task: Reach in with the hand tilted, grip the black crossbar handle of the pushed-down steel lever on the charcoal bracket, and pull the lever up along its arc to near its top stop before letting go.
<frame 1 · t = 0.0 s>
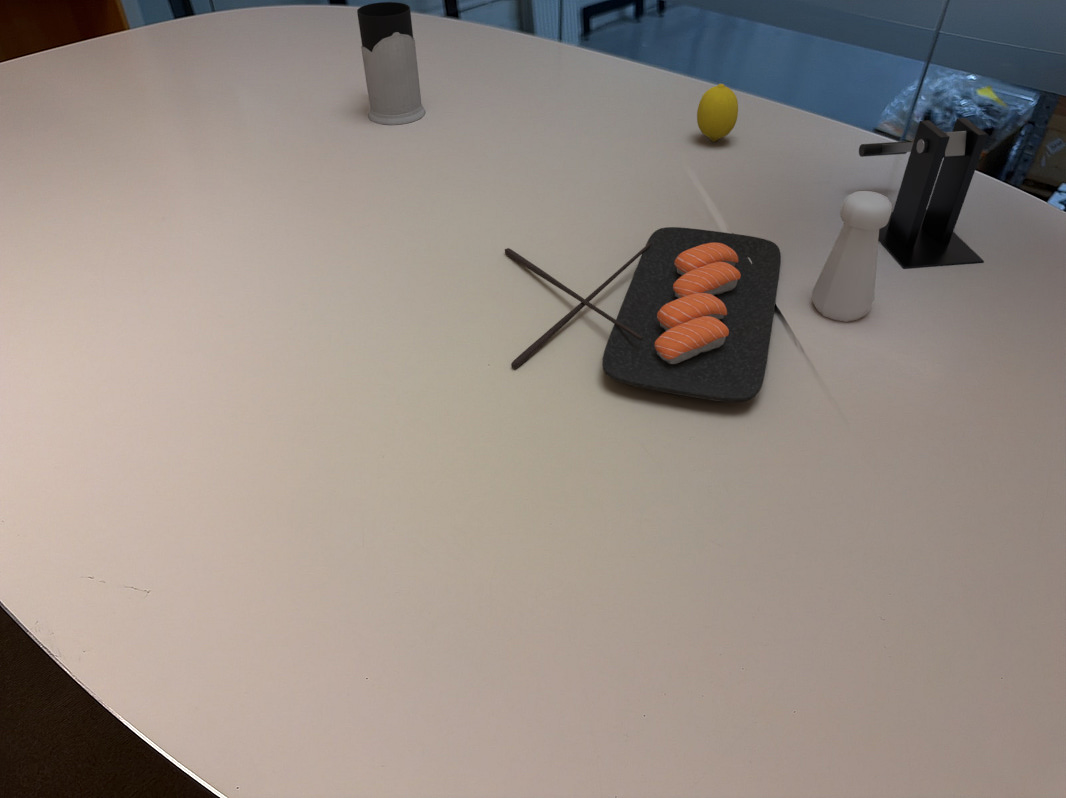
salt shaker: (836, 317, 82), on the table
sushi plate: (621, 306, 84), on the table
bracket: (914, 246, 92), on the table
lemon: (713, 142, 115), on the table
glass holder: (390, 109, 127), on the table
lever: (915, 146, 90), point 9 cm above the table, hinge at -25.0°
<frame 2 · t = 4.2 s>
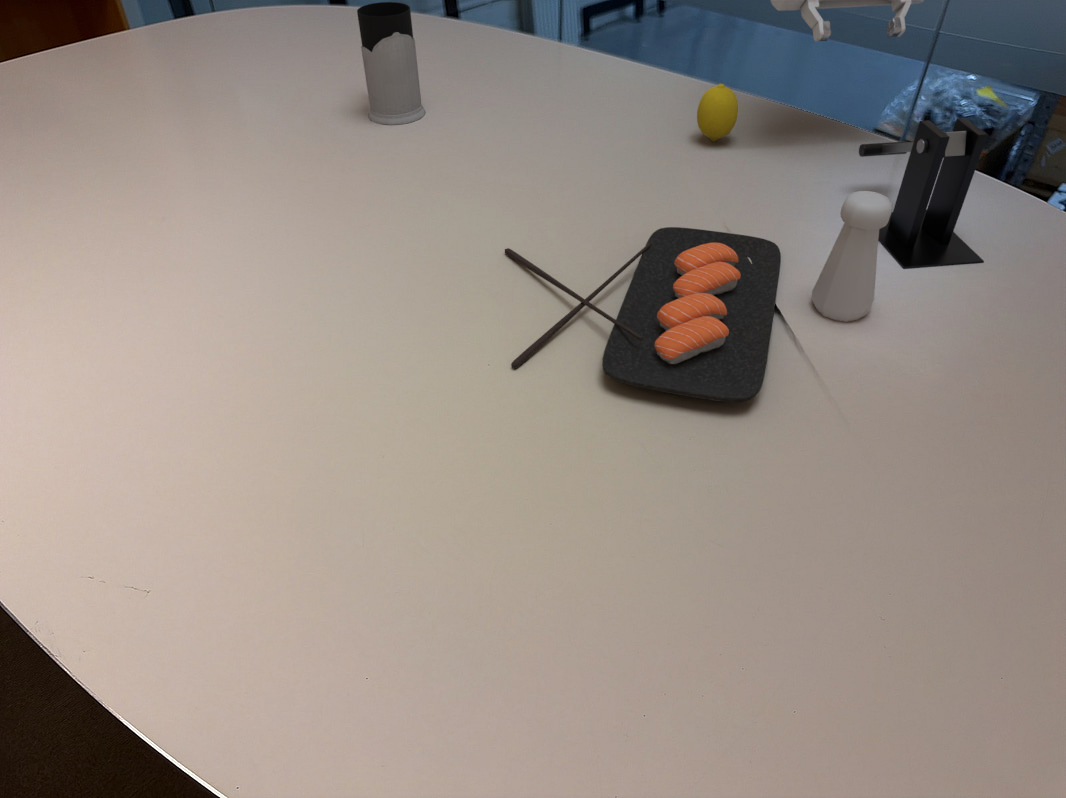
hand: (859, 36, 100), 16 cm above the table, tool tilted 45°, fingers open, 8 cm apart
nothing on the table moved.
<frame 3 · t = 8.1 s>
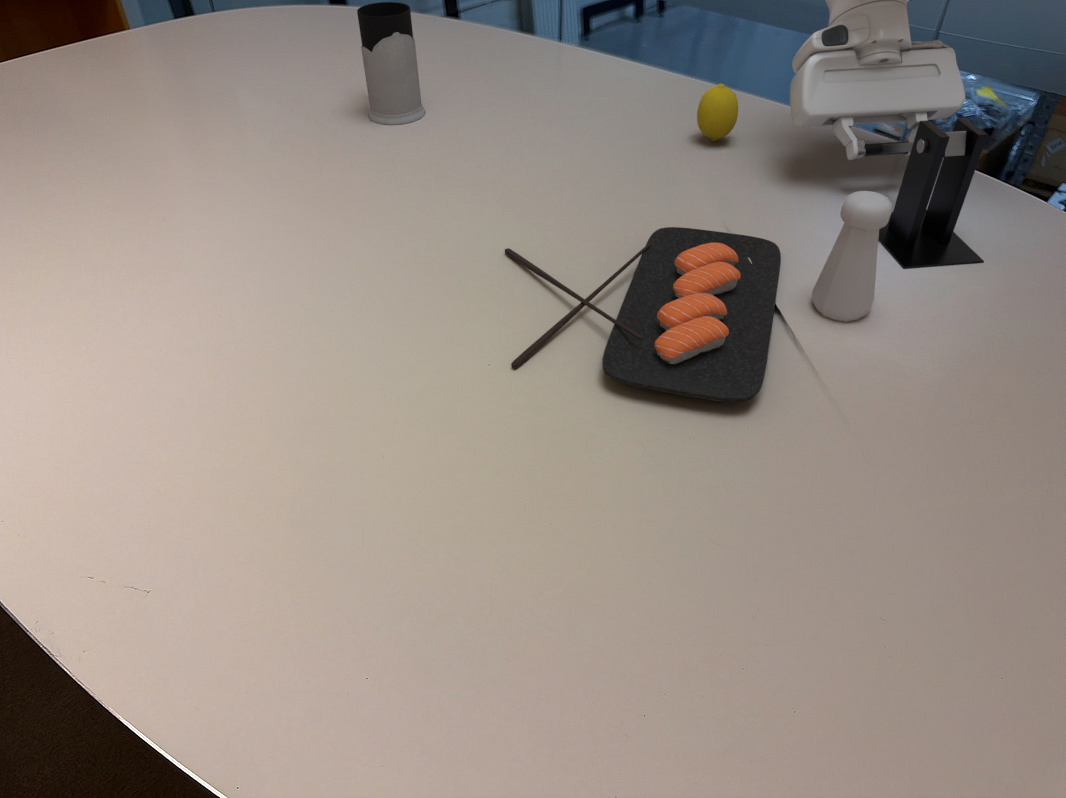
hand: (884, 156, 96), 6 cm above the table, tool tilted 45°, fingers closed on lever, 5 cm apart
lever: (915, 146, 90), point 9 cm above the table, hinge at -24.9°, touching gripper
everything else where it was.
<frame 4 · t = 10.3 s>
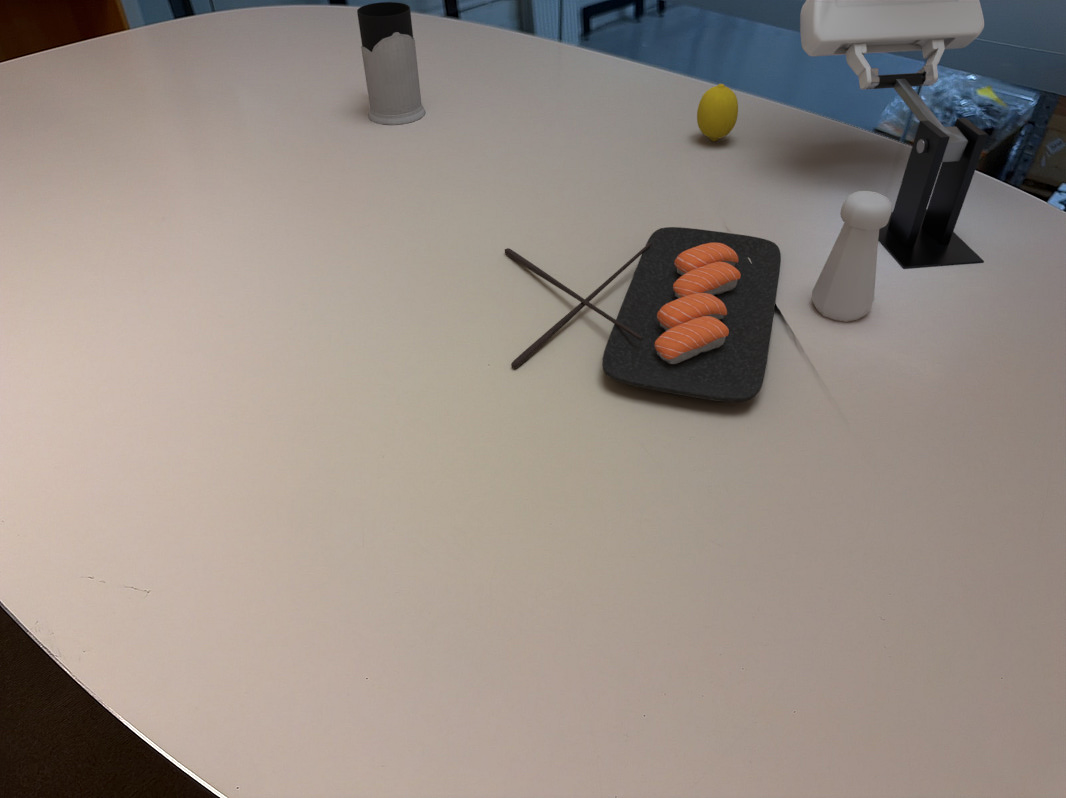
hand: (898, 85, 92), 14 cm above the table, tool tilted 45°, fingers closed on lever, 5 cm apart
lever: (922, 112, 88), point 13 cm above the table, hinge at 9.5°, touching gripper
everything else where it was.
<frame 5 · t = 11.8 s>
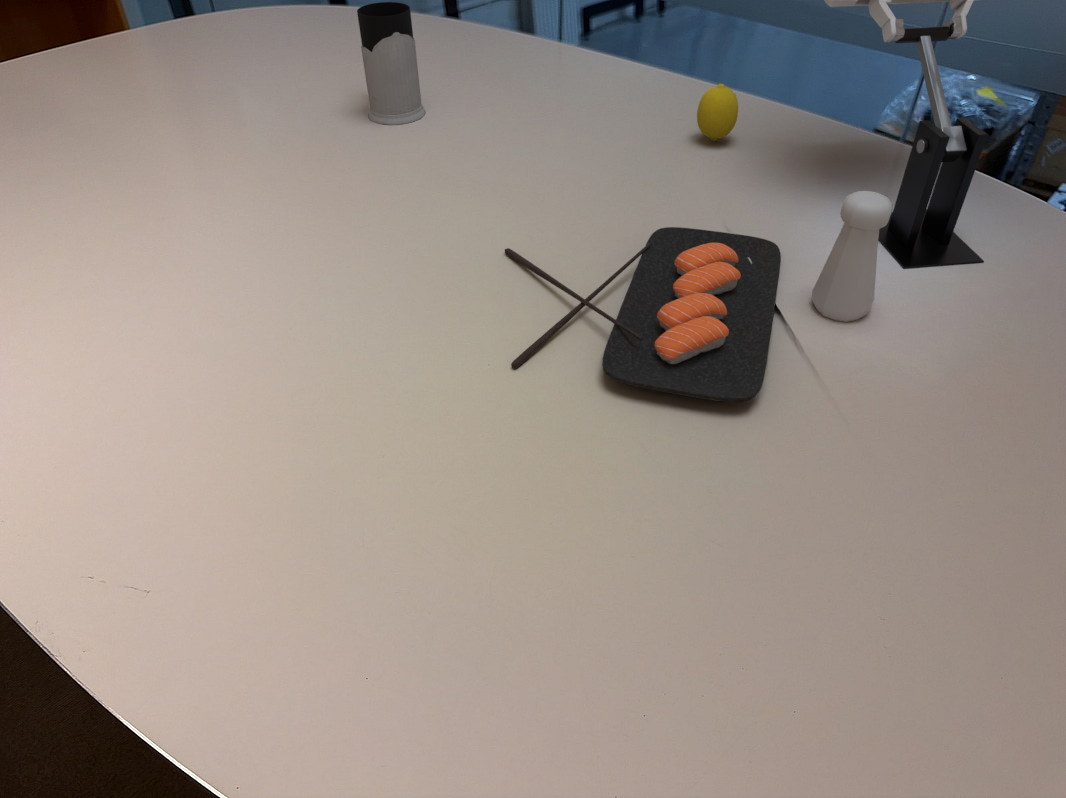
hand: (925, 38, 86), 20 cm above the table, tool tilted 45°, fingers closed on lever, 5 cm apart
lever: (935, 91, 85), point 16 cm above the table, hinge at 36.9°, touching gripper
everything else where it was.
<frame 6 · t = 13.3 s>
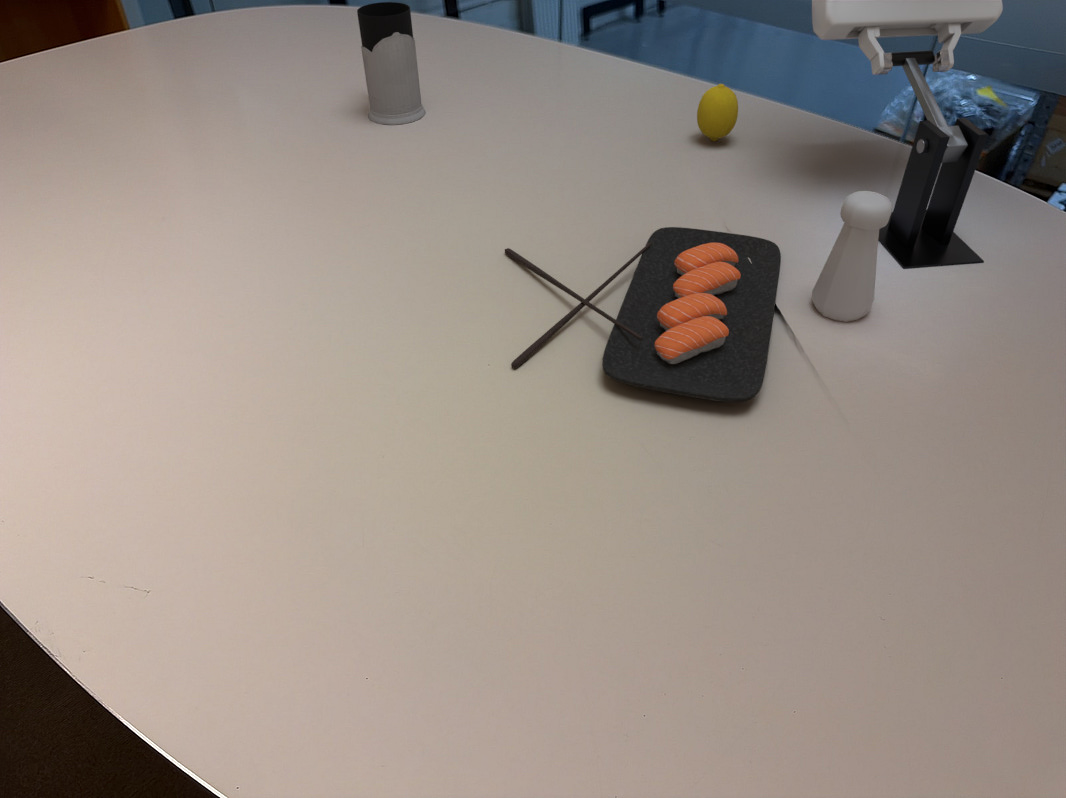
hand: (913, 71, 89), 16 cm above the table, tool tilted 45°, fingers closed on lever, 5 cm apart
lever: (927, 102, 87), point 14 cm above the table, hinge at 21.7°, touching gripper
everything else where it was.
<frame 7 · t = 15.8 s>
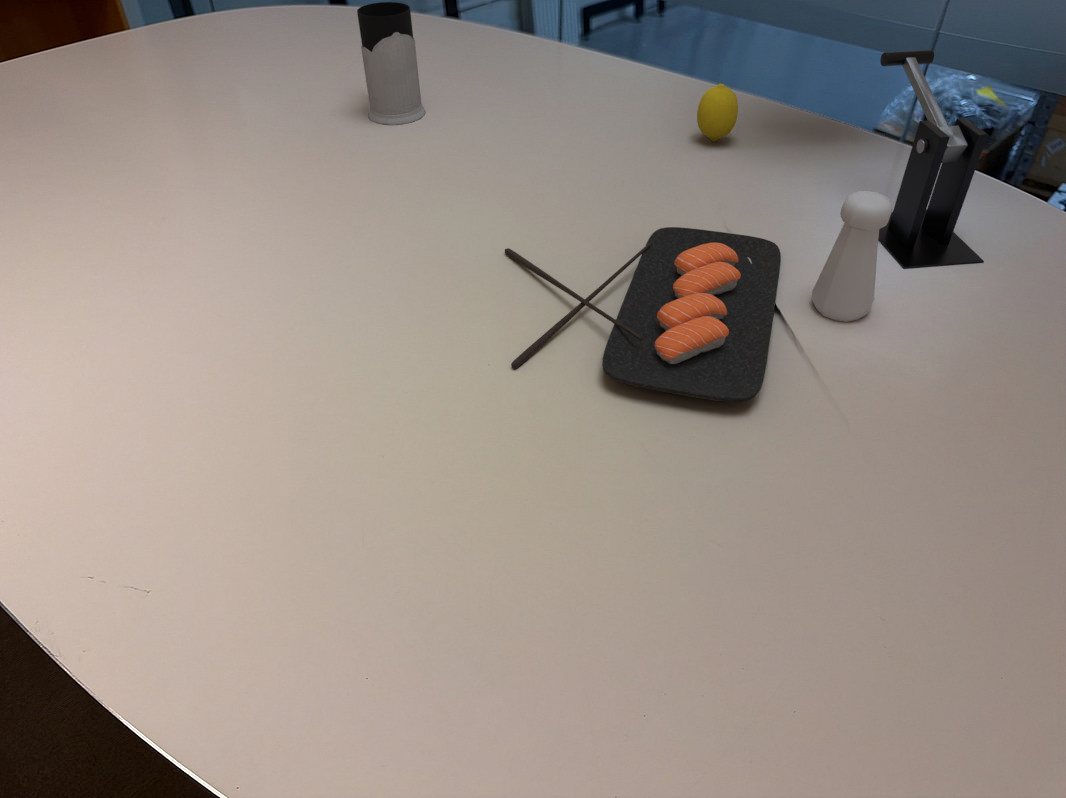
lever: (927, 102, 87), point 14 cm above the table, hinge at 22.1°
everything else where it was.
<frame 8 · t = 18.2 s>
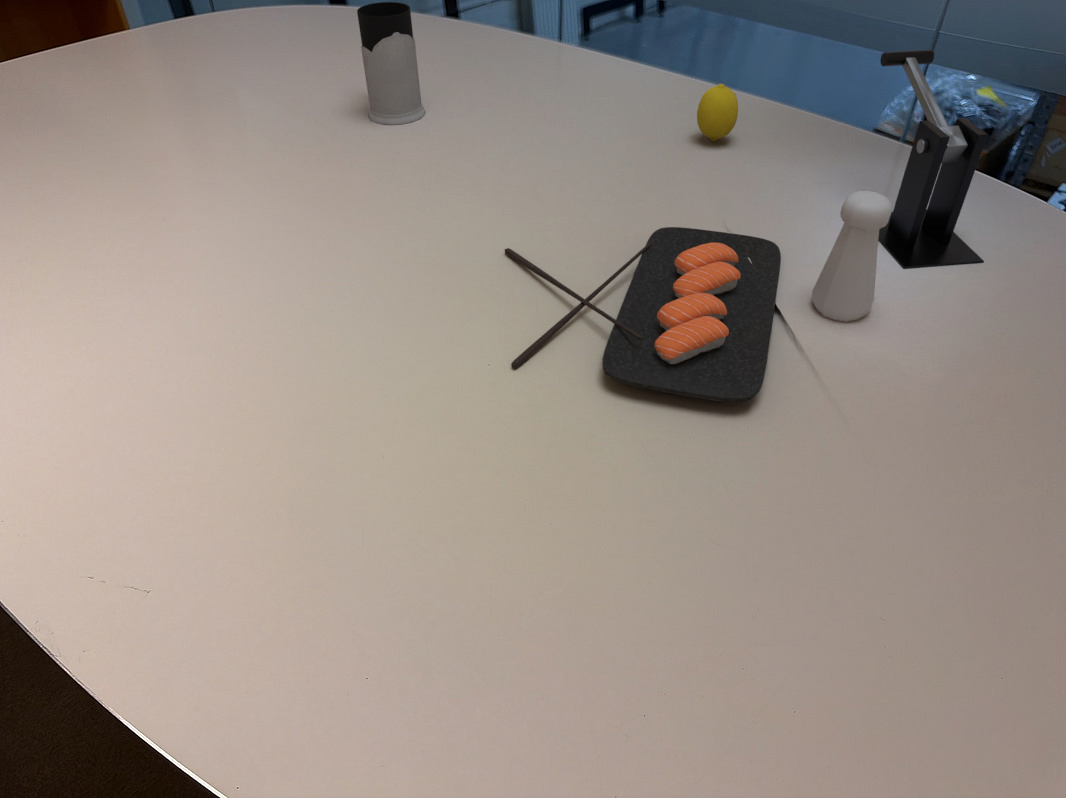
nothing on the table moved.
at the end: lever at +22° (first picture: -25°); salt shaker moved 0.2 cm from its start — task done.
